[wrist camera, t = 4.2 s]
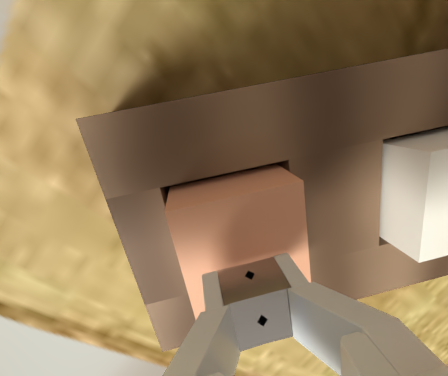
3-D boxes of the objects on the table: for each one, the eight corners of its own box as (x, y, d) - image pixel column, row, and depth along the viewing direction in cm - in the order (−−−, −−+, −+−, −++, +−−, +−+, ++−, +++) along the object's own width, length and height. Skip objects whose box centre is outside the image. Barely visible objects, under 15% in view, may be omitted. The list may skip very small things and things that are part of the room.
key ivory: (469, 122, 12) (547, 126, 9) (455, 211, 14) (518, 236, 11) (375, 142, 12) (430, 152, 9) (373, 232, 13) (419, 262, 11)
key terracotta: (276, 163, 11) (303, 180, 9) (286, 253, 13) (311, 291, 10) (169, 186, 11) (164, 212, 8) (194, 276, 13) (196, 321, 10)
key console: (457, 49, 14) (555, 28, 10) (434, 229, 18) (499, 261, 14) (109, 115, 13) (75, 119, 9) (167, 296, 17) (162, 351, 13)
